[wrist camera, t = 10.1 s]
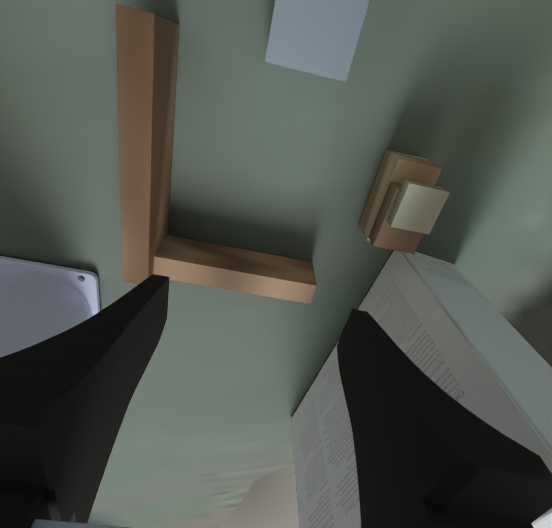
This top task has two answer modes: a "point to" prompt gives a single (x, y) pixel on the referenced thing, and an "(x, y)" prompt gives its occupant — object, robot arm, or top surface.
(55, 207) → the top surface
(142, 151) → the brown wooden l-shape
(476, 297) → the skincare box
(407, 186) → the offcut stack
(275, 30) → the light blue block
